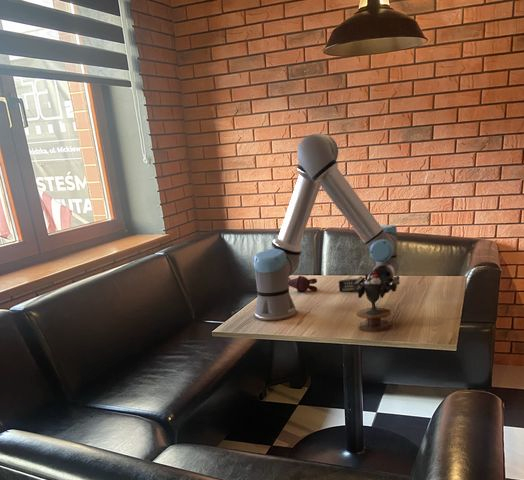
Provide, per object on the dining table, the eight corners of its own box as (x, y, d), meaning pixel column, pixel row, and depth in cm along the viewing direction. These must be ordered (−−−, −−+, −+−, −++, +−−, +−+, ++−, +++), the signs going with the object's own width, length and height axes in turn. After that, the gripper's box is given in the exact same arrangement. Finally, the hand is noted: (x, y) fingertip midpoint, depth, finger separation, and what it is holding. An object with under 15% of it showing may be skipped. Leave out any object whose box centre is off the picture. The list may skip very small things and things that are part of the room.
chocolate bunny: (280, 279, 224) (314, 282, 219) (285, 271, 230) (319, 273, 225) (281, 293, 228) (315, 296, 223) (286, 285, 234) (319, 287, 229)
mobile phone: (338, 281, 218) (376, 277, 215) (338, 279, 221) (375, 276, 217) (339, 292, 220) (376, 289, 216) (339, 291, 222) (376, 288, 219)
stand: (351, 325, 178) (350, 311, 177) (380, 319, 181) (379, 305, 180) (367, 334, 169) (367, 319, 167) (398, 328, 172) (398, 313, 170)
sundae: (384, 315, 169) (383, 268, 164) (363, 316, 171) (361, 269, 166) (384, 309, 175) (383, 263, 170) (363, 309, 177) (361, 265, 172)
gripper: (410, 285, 184) (402, 305, 164) (355, 286, 191) (340, 305, 171) (410, 264, 181) (401, 281, 161) (354, 265, 188) (339, 282, 168)
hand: (370, 293), depth 166 cm, fingers open, 6 cm apart
